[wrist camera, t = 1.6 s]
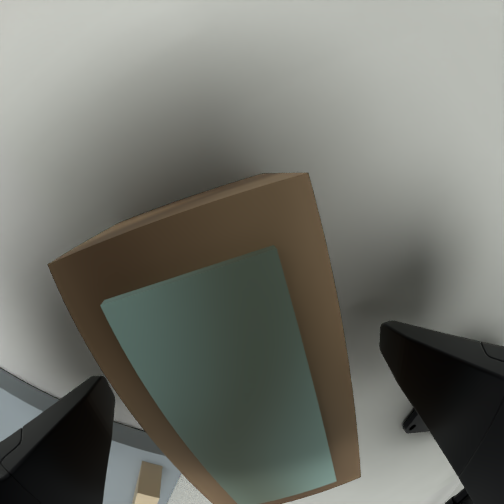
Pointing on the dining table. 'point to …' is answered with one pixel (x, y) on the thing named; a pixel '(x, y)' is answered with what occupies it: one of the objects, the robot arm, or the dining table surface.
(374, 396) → the dining table surface
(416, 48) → the dining table surface
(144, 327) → the frame
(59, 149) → the dining table surface
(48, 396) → the grey flat panel
